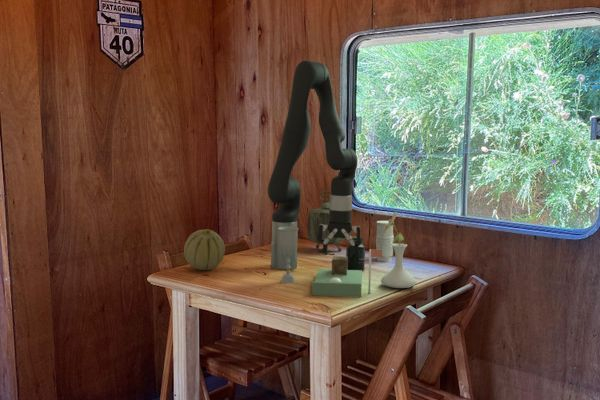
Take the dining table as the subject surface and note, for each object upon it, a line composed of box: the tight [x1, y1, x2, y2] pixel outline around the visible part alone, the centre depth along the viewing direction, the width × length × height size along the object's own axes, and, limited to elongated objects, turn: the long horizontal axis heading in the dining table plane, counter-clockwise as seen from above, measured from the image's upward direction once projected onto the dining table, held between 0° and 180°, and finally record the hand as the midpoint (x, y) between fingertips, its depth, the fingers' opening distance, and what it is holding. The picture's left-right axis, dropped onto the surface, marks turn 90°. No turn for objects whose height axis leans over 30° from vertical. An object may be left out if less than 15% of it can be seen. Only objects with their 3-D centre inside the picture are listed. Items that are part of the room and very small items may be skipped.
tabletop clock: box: [307, 191, 345, 253], centre depth 252 cm, size 14×9×25 cm, turn 58°
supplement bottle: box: [345, 235, 366, 272], centre depth 220 cm, size 7×7×12 cm
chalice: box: [278, 226, 300, 284], centre depth 203 cm, size 7×7×18 cm
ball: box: [329, 277, 342, 282], centre depth 192 cm, size 4×4×4 cm
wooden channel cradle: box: [331, 255, 347, 275], centre depth 206 cm, size 5×6×5 cm
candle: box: [375, 220, 395, 262], centre depth 237 cm, size 7×7×15 cm
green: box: [311, 268, 363, 298], centre depth 199 cm, size 15×24×4 cm, turn 174°
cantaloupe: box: [183, 228, 226, 271], centre depth 218 cm, size 15×15×15 cm
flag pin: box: [367, 248, 382, 294], centre depth 189 cm, size 4×1×14 cm, turn 84°
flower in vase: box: [380, 212, 417, 289], centre depth 196 cm, size 13×11×25 cm
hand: (338, 255), depth 206 cm, fingers open, 8 cm apart
